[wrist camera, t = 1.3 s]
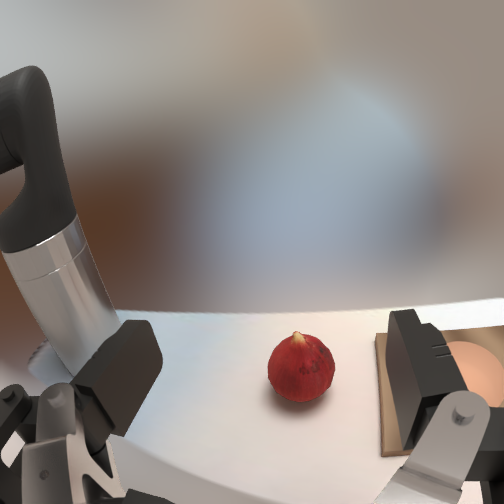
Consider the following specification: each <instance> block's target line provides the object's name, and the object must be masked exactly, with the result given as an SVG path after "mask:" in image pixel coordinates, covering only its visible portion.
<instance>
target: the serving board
mask: <svg viewBox="0 0 504 504" xmlns="http://www.w3.org/2000/svg"><path fill="white" fill-rule="evenodd" d="M440 332H441V333H442V335H443V337H444V339H445V341H446V343H447V346H448V347H449V349H450V351H451V355H453V357H454V359H455V361H456V363H457V365H458V368H459V370H460V372H461V374H462V376H463V379H464V381H465V383H466V385H467V388H468V390H469V391H471V392H474V393H477V394H478V395H480V396H481V397H483V398H484V399H485V401H486V402H487V403H488V405H489V406H490V407H504V325H502V326H493V327H482V328H471V329H459V330H444V331H440ZM387 334H388V333H376V338H375V346H376V356H377V366H378V378H379V392H380V410H381V441H382V457H388V456H401V455H410V454H411V453H412V451H413V450H414V449H411V450H405V451H403V449H402V443H401V437H400V432H399V426H398V421H397V416H396V410H395V405H394V401H393V396H392V391H391V387H390V382H389V378H388V373H387V369H386V360H385V352H386V342H387Z"/></svg>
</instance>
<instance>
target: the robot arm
mask: <svg viewBox="0 0 504 504" xmlns="http://www.w3.org/2000/svg"><path fill="white" fill-rule="evenodd" d="M23 164H24V170H25V184H24V187H23V189H22V190H21V192H20V194H19V195H18V197H17V198H16V199H15V200H14V202H13V203H12V204H11V205H10V206H9V207H7V209H5V210H4V211H3V212H2V214H1V215H0V249H1V251H2V253H3V256H4V258H5V260H6V263H7V265H8V267H9V269H10V271H11V274H12V276H13V277H14V279H15V281H16V284H17V286H18V288H19V289H20V291H21V293H22V295H23V297H24V299H25V301H26V303H27V305H28V306H29V308H30V310H31V312H32V314H33V315H34V317H35V319H36V321H37V322H38V324H39V325H40V327H41V329H42V331H43V332H44V334H45V336H46V337H47V339H48V341H49V342H50V344H51V345H52V347H53V348H54V350H55V352H56V353H57V355H58V356H59V358H60V359H61V360H62V362H63V363H64V365H65V366H66V368H67V369H68V370H69V372H70V373H71V374H72V375H73V376H74V378H73V380H72V381H71V382H70V383H69V384H68V383H57V384H54V385H52V386H50V387H48V388H47V389H46V390H45V391H44V392H43V393H42V394H41V396H28V394H27V393H26V391H25V390H24V388H23V387H22V386H21V385H19V384H13V385H10V386H7V387H6V388H4V389H3V390H2V391H1V392H0V504H174V503H172V502H170V501H168V500H166V499H165V498H161V497H157V496H153V495H150V494H146V493H142V492H139V491H136V490H133V489H128V491H127V493H125V491H124V490H123V488H122V486H121V483H120V480H119V476H118V472H117V468H116V464H115V459H114V455H113V451H112V446H111V443H110V441H109V440H108V437H109V435H110V433H111V434H114V435H118V436H122V437H124V436H125V434H126V432H127V430H128V428H129V426H130V425H131V423H132V421H133V419H134V417H135V416H136V414H137V412H138V410H139V409H140V407H141V405H142V403H143V401H144V400H145V398H146V396H147V394H148V393H149V391H150V389H151V387H152V385H153V384H154V382H155V380H156V378H157V377H158V375H159V373H160V371H161V369H162V365H163V358H162V353H161V351H160V348H159V346H158V343H157V340H156V338H155V335H154V332H153V329H152V327H151V324H150V323H149V322H148V321H147V320H126V321H125V322H124V323H123V325H121V323H120V321H119V318H118V316H117V314H116V312H115V309H114V307H113V305H112V303H111V301H110V298H109V296H108V294H107V292H106V289H105V287H104V284H103V282H102V280H101V277H100V275H99V272H98V270H97V267H96V265H95V262H94V260H93V257H92V255H91V252H90V249H89V247H88V244H87V241H86V239H85V236H84V233H83V231H82V227H81V224H80V221H79V219H78V216H77V213H76V209H75V206H74V203H73V199H72V196H71V191H70V187H69V183H68V179H67V175H66V171H65V167H64V163H63V159H62V154H61V149H60V144H59V138H58V131H57V124H56V117H55V110H54V104H53V98H52V94H51V89H50V86H49V83H48V80H47V78H46V76H45V74H44V73H43V71H42V70H41V69H40V68H38V67H36V66H27V67H24V68H21V69H19V70H16V71H14V72H12V73H10V74H8V75H6V76H4V77H2V78H0V174H3V173H5V172H7V171H9V170H12V169H14V168H16V167H19V166H21V165H23ZM385 360H386V369H387V373H388V378H389V382H390V387H391V391H392V396H393V401H394V405H395V410H396V416H397V421H398V426H399V432H400V437H401V443H402V449H403V451H405V450H411V449H414V450H413V451H412V453H411V454H410V456H409V458H408V459H407V461H406V462H405V464H404V465H403V466H402V467H400V468H399V469H398V470H397V472H396V473H395V474H394V475H393V477H392V478H391V480H390V481H389V482H388V484H387V485H386V486H385V488H384V489H383V490H382V492H381V493H380V494H379V496H378V497H377V498H376V499H375V501H374V502H373V503H372V504H457V503H458V501H459V499H460V496H461V494H462V490H461V487H462V484H463V482H464V481H480V485H481V491H482V498H483V504H504V407H490V406H489V405H488V403H487V402H486V401H485V399H484V398H483V397H481V396H480V395H478V394H477V393H474V392H471V391H469V390H468V388H467V385H466V383H465V381H464V379H463V376H462V374H461V372H460V370H459V368H458V365H457V363H456V361H455V359H454V357H453V355H451V351H450V349H449V347H448V346H447V343H446V341H445V339H444V337H443V335H442V333H441V332H440V331H439V330H438V329H437V328H436V327H434V326H433V325H432V324H431V323H426V324H421V322H420V320H419V318H418V316H417V314H416V312H415V310H414V309H408V310H399V311H391V312H390V315H389V324H388V334H387V342H386V352H385ZM14 431H16V432H17V434H18V435H19V436H20V437H21V438H22V439H23V441H24V442H25V445H24V446H23V448H22V449H21V451H20V452H19V454H18V456H17V457H16V458H15V460H14V462H13V463H12V465H11V466H10V468H8V467H7V466H6V465H5V464H4V463H3V461H2V459H1V450H2V448H3V447H4V445H5V444H6V443H7V441H8V440H9V438H10V437H11V435H12V434H13V432H14Z"/></svg>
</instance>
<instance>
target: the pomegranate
mask: <svg viewBox="0 0 504 504" xmlns="http://www.w3.org/2000/svg"><path fill="white" fill-rule="evenodd" d="M334 372H335V363H334V360H333V357H332V354H331V352H330V350H329V349H328V348H327V347H326V346H325V345H324V344H323V343H322V342H321V341H320V340H319V339H318V338H316V337H313V336H311V335H305V334H301V333H300V332H297V331H295V332H294V333H293V335H292V336H290V337H288V338H286V339H284V340H283V341H282V342H281V343H280V344H279V345H278V346H276V348H275V349H274V350H273V352H272V355H271V357H270V359H269V362H268V378H269V380H270V382H271V384H272V386H273V388H274V389H275V391H276V392H277V393H278V394H280V395H281V396H283V397H285V398H286V399H288V400H292V401H296V402H303V401H309V400H312V399H314V398H317V397H319V396H320V395H321V394H323V393H324V392H325V391H326V390H327V389H328V388H329V387H330V385H331V382H332V379H333V376H334Z"/></svg>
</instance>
